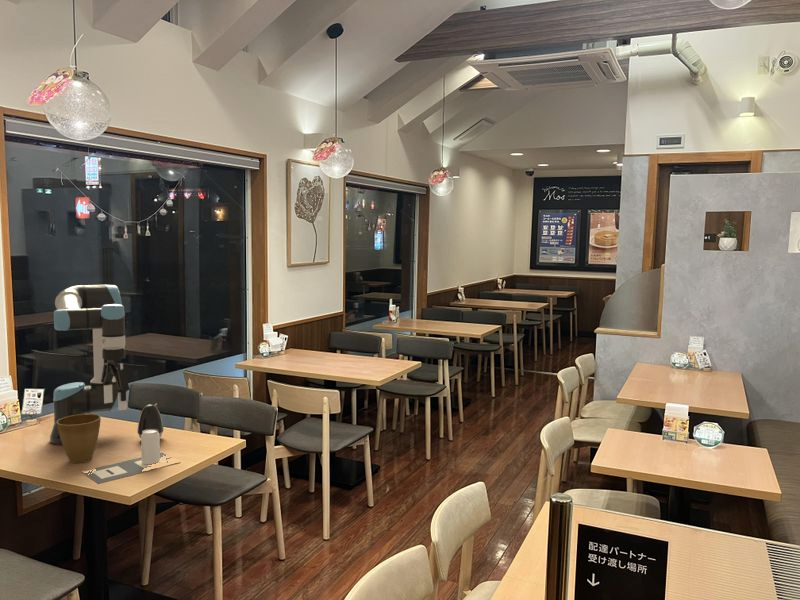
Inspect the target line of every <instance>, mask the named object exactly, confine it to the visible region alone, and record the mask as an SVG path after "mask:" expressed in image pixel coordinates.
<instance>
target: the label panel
mask: <svg viewBox="0 0 800 600" xmlns="http://www.w3.org/2000/svg"><path fill="white" fill-rule="evenodd" d="M163 455H164V456H166V455H167V454H166V453H164V452H160V460H163V459H161V457H163ZM170 458H172V457H171V456H170ZM170 458H166V460H167V459H170ZM162 462H164V461H162ZM165 462H166V461H165ZM159 463H161V462H159ZM166 463H168V461H167V462H166ZM147 467H151V466H148V465H145V464H143V463H142V457H137V458H132V459H128V460H124V461H119V462H116V463H115V462H114V463H111V464H110V463H109V464H106V465H103V466H98V467H94V468H95V469H96V471H94V472H93V473H92V471H93V470H92V471H91V472H90V471H89V472H88V473H83V474H84V475H85V474H86V475H85V476H87V477H88V478H89V477H90V478H89V479H90V480H92V481H93V482H95V483H97V485H99V484H102V483H103V484H104V483H107V482H111V481H115V480H118V478H119V479H123V478H126V477H132V476H134V474H135V475H138V473H139V474H142V473H141V472H142V470H143V469H144V468H147ZM89 473H90V474H89ZM91 473H92V474H91ZM88 474H89V475H88ZM114 479H115V480H114ZM110 480H111V481H110Z"/></svg>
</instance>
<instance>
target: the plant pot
mask: <svg viewBox="0 0 800 600" xmlns="http://www.w3.org/2000/svg"><path fill="white" fill-rule="evenodd" d="M101 421H102V420H101V415H99V414H97V413H86V414H79V415H73V416H68V417H64V418H61V419H59V420H58V421H57V427H58V431H59V435H60V439H61V442H62V448H63V450H64V452H65V454H66V456H67V458H68V461H69V462H70V463H72V464H82V462H83V463H86V461H87V462H89V461H91V460H92V459H93V456H94V453H95V451H96V446H97V442H98V439H99V436H100V435H99V433H100V428H101Z"/></svg>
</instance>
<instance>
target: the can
mask: <svg viewBox="0 0 800 600" xmlns="http://www.w3.org/2000/svg"><path fill="white" fill-rule="evenodd" d="M160 439H161V437H160V436H159V432H158V430H157V429H147V430H144V431H142V435H141V438H140V442H141V443H140V447H141V457H142V463H143V464H145V465H152V464H156V463H158V462H159V461H160V453H161V447H160V445H161V444H160V443H161V440H160Z"/></svg>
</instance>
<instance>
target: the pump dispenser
mask: <svg viewBox="0 0 800 600" xmlns="http://www.w3.org/2000/svg"><path fill="white" fill-rule="evenodd" d="M158 405H159V404H158V403H155V404H153V403H152V404H151V403H149V404H146V405H145V406H144V407H143V408H142V410H141V412H140V416H139V417H138V418H139V419H138V423H137V429H136V430H137V434H138V437H139V438H140V439H141V435H142V431H144V430H147V429H157V430H158V432H159V436H160V438H161V437H162V435H163V432H164V430H165V429H164V423H163V419H162V416H161V413H160V411H159V409H158Z"/></svg>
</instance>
